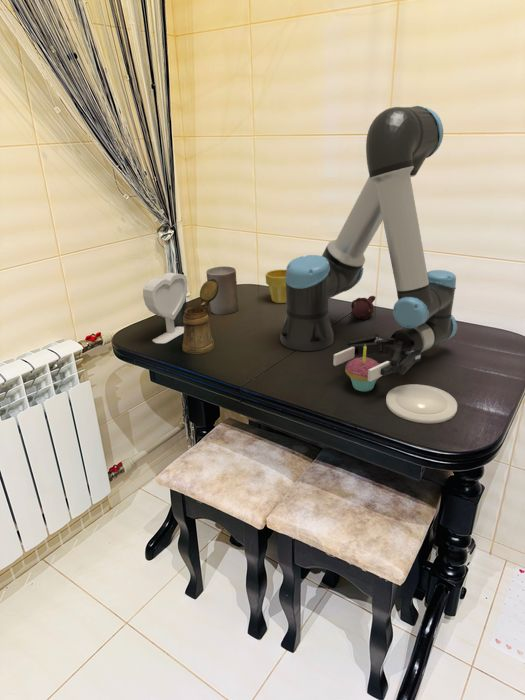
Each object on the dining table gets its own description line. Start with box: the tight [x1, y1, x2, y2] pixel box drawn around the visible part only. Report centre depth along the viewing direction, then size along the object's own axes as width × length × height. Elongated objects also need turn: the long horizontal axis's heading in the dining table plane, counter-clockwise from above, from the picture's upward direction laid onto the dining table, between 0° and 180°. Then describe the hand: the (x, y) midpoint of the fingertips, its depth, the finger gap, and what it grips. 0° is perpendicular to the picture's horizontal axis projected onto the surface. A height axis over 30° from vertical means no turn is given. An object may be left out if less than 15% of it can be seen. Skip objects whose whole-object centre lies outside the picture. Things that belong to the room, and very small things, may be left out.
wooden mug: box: [181, 278, 219, 355], centre depth 140 cm, size 9×14×18 cm, turn 146°
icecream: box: [350, 295, 376, 320], centre depth 158 cm, size 7×7×15 cm
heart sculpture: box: [142, 272, 188, 344], centre depth 148 cm, size 16×5×18 cm, turn 150°
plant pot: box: [265, 268, 286, 304], centre depth 175 cm, size 10×10×10 cm
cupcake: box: [344, 344, 381, 392], centre depth 117 cm, size 9×8×12 cm
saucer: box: [385, 383, 458, 425], centre depth 112 cm, size 15×15×1 cm
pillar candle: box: [205, 266, 239, 316], centre depth 167 cm, size 10×10×15 cm
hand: (351, 367), depth 115 cm, fingers open, 10 cm apart
